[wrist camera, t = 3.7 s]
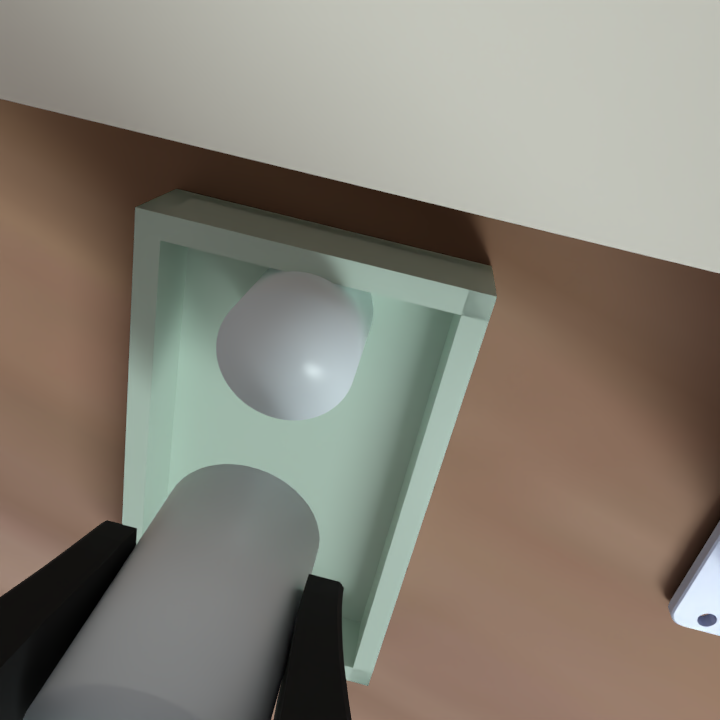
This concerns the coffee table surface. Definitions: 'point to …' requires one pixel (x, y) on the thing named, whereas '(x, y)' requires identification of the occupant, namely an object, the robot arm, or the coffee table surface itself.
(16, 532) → the coffee table surface
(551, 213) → the shelf
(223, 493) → the round-ended grey cylinder
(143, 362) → the tray
